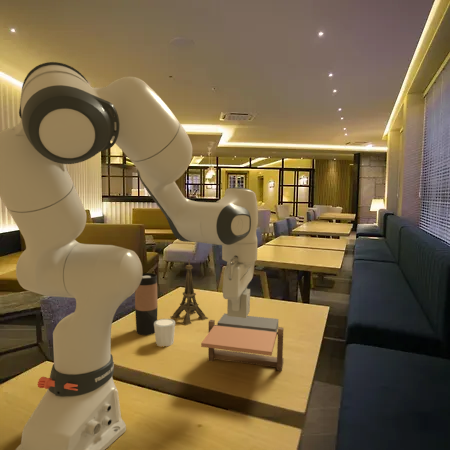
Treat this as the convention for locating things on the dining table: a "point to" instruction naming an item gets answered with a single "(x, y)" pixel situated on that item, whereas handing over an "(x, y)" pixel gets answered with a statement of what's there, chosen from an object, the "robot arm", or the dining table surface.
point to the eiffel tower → (189, 300)
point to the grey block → (244, 305)
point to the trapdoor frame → (249, 357)
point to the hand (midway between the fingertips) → (238, 305)
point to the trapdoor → (243, 335)
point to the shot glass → (164, 332)
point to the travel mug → (146, 304)
